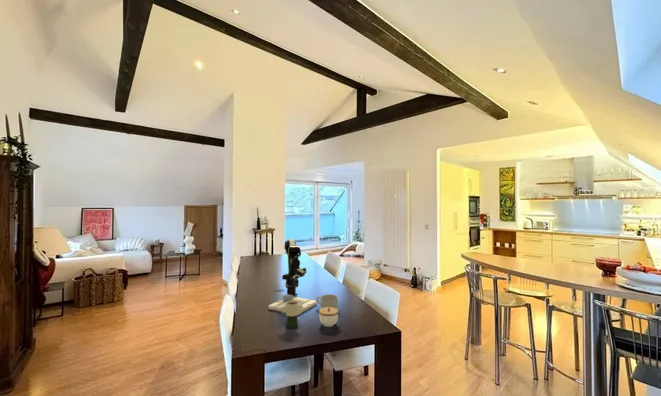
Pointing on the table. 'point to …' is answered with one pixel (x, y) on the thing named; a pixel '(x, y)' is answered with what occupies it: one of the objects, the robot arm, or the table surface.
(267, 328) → the table surface
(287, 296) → the block
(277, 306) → the console
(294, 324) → the character mug
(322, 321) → the lidded jar
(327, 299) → the teacup
